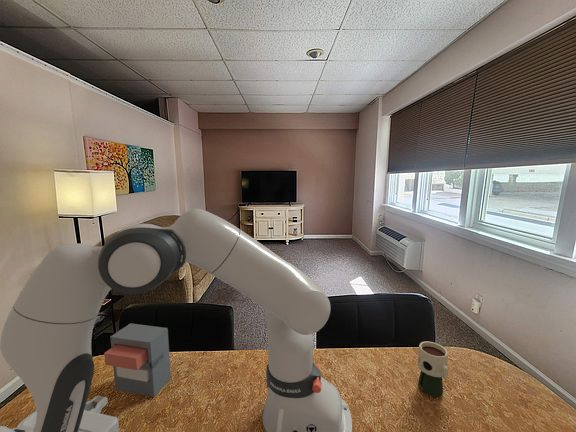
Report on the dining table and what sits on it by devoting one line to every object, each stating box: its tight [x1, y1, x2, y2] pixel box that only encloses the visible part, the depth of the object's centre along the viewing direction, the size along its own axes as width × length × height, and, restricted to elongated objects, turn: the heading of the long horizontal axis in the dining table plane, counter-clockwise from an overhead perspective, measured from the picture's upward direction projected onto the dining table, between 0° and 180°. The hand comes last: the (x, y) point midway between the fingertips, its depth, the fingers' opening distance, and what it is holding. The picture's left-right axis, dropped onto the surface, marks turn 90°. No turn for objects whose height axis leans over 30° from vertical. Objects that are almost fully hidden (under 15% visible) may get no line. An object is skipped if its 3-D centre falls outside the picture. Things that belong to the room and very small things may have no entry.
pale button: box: [116, 367, 150, 382], centre depth 72 cm, size 4×10×3 cm, turn 78°
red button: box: [103, 344, 148, 370], centre depth 68 cm, size 4×10×3 cm, turn 78°
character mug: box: [417, 341, 449, 398], centre depth 71 cm, size 11×7×13 cm, turn 8°
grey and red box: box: [110, 323, 172, 398], centre depth 74 cm, size 7×13×16 cm, turn 78°
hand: (102, 398), depth 62 cm, fingers closed
